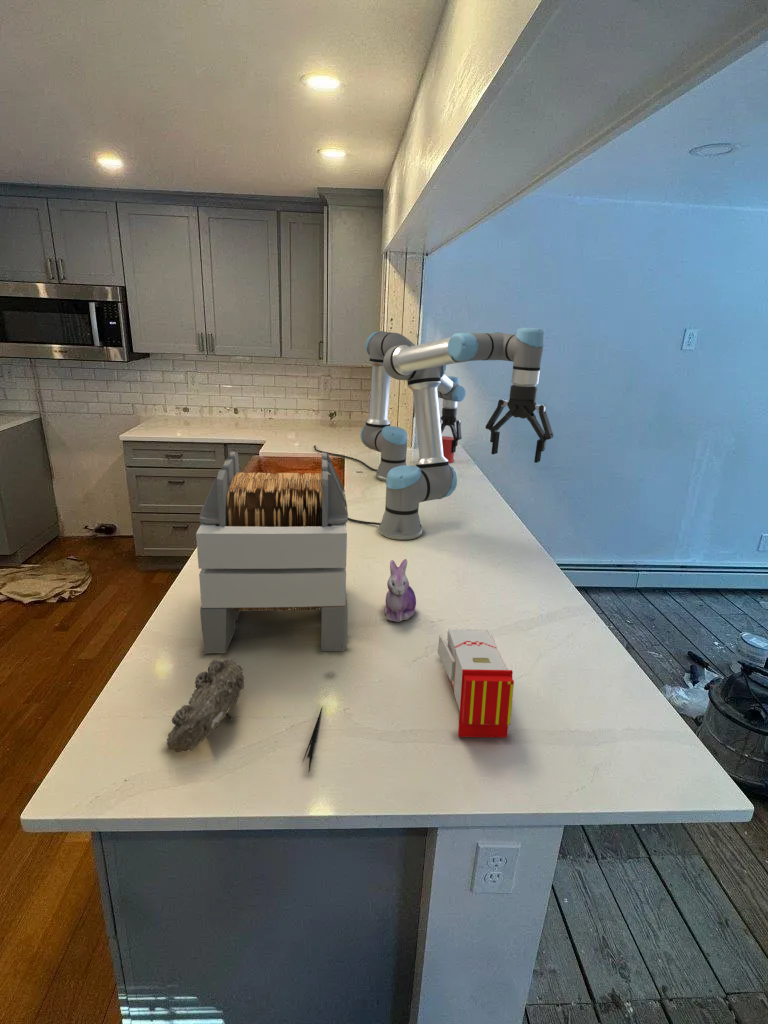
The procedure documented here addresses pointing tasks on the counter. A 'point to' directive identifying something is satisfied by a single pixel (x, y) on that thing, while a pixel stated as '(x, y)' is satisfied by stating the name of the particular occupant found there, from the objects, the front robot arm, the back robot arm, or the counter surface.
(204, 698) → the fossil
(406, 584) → the figurine
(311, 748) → the feather
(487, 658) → the toy
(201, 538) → the record crate
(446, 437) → the can
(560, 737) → the counter surface
